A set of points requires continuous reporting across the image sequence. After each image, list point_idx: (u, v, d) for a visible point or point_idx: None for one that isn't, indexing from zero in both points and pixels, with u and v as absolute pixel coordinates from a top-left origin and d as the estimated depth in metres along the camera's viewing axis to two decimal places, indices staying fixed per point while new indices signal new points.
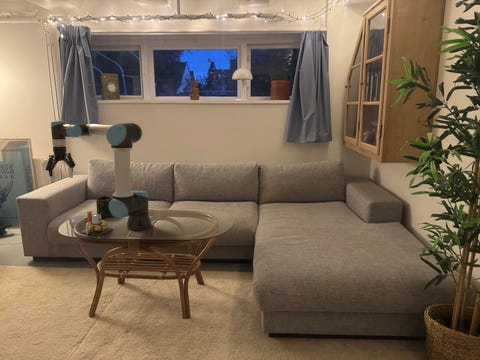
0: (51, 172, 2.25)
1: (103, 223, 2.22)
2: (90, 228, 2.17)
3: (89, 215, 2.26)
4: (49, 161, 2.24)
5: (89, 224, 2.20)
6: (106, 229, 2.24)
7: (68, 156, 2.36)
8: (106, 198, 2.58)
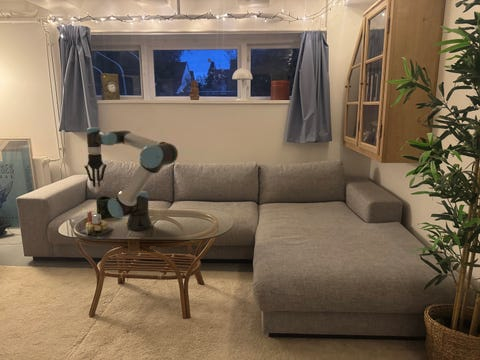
0: (94, 183, 2.25)
1: (103, 223, 2.22)
2: (90, 228, 2.17)
3: (89, 215, 2.26)
4: (87, 172, 2.22)
5: (89, 224, 2.20)
6: (106, 229, 2.24)
7: (102, 167, 2.26)
8: (106, 198, 2.58)
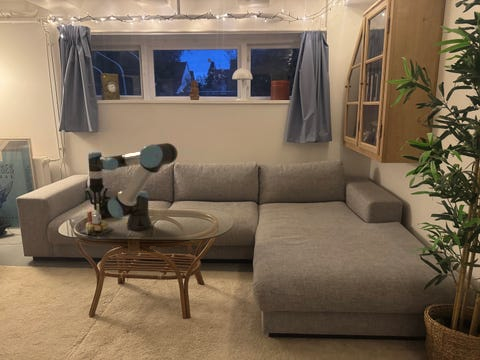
0: (95, 206, 2.28)
1: (103, 223, 2.22)
2: (90, 228, 2.17)
3: (89, 215, 2.26)
4: None
5: (89, 224, 2.20)
6: (106, 229, 2.24)
7: (104, 190, 2.29)
8: (106, 198, 2.58)
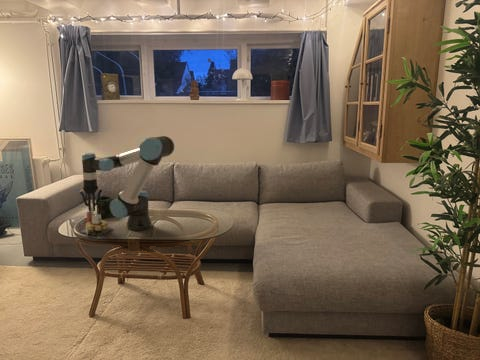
0: (89, 207, 2.26)
1: (103, 223, 2.22)
2: (90, 228, 2.17)
3: (89, 215, 2.26)
4: None
5: (89, 224, 2.19)
6: (106, 229, 2.24)
7: (98, 192, 2.27)
8: (106, 198, 2.58)
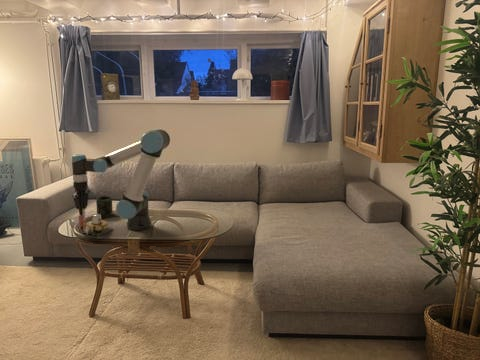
0: (81, 210, 2.20)
1: (103, 221, 2.25)
2: (99, 228, 2.18)
3: (82, 218, 2.20)
4: (76, 201, 2.15)
5: (93, 225, 2.18)
6: (106, 229, 2.24)
7: (86, 193, 2.23)
8: (106, 198, 2.58)
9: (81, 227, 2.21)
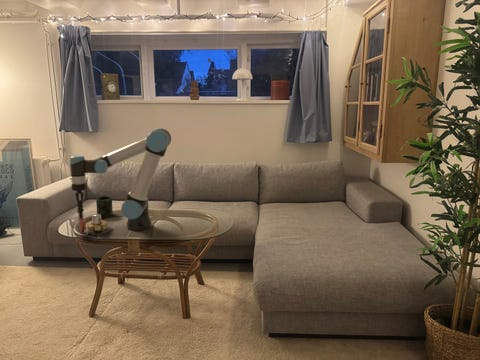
0: (82, 213, 2.15)
1: None
2: (105, 226, 2.21)
3: (83, 221, 2.15)
4: (80, 203, 2.10)
5: (99, 225, 2.19)
6: (106, 229, 2.24)
7: None
8: (106, 198, 2.58)
9: (83, 230, 2.16)
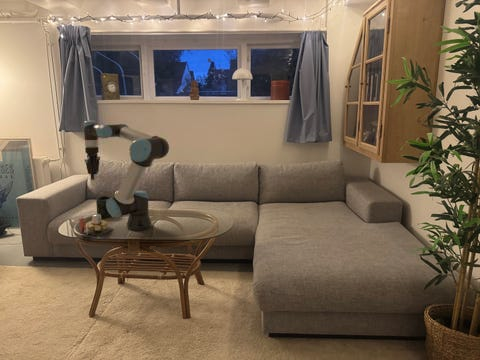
0: (93, 175, 2.28)
1: None
2: (105, 226, 2.21)
3: (83, 221, 2.15)
4: (88, 165, 2.23)
5: (99, 225, 2.19)
6: (106, 229, 2.24)
7: (97, 159, 2.31)
8: (106, 198, 2.58)
9: (83, 230, 2.16)
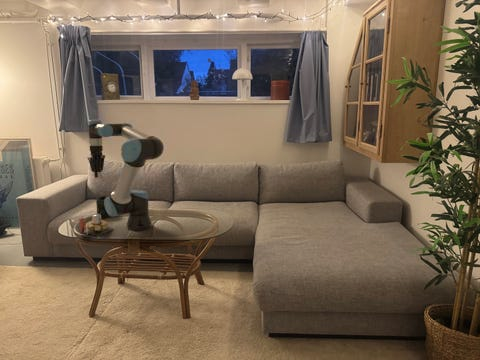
0: (96, 173, 2.32)
1: None
2: (105, 226, 2.21)
3: (83, 221, 2.15)
4: (91, 163, 2.28)
5: (99, 225, 2.19)
6: (106, 229, 2.24)
7: (102, 158, 2.35)
8: None
9: (83, 230, 2.16)
